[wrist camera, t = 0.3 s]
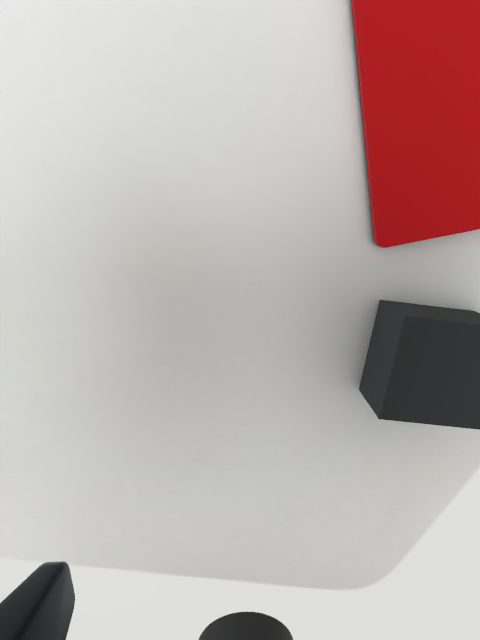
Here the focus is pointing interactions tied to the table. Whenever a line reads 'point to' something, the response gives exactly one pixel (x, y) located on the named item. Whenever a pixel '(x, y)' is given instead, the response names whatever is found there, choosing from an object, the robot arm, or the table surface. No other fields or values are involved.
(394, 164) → the electronic device
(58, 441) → the table surface
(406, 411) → the black block
